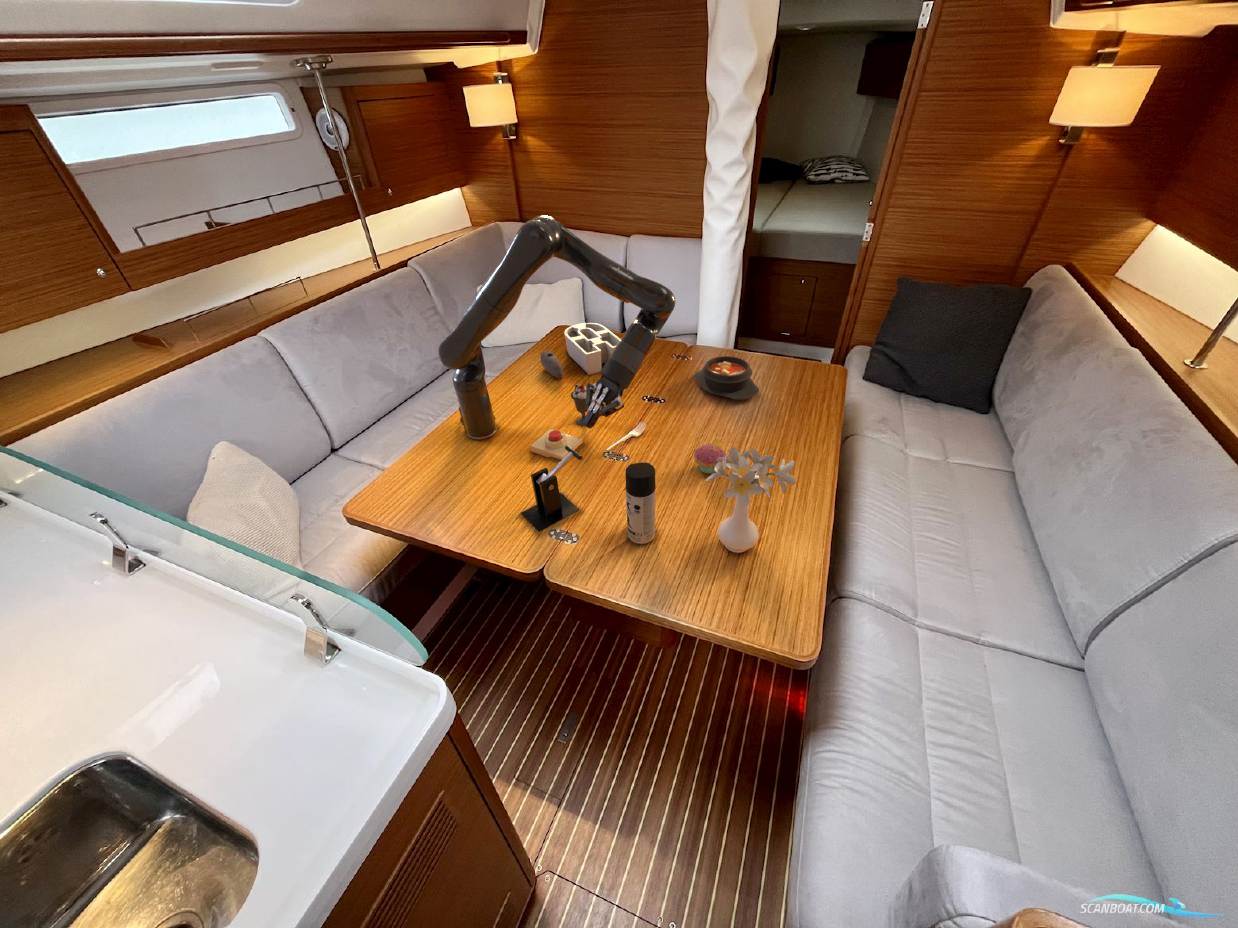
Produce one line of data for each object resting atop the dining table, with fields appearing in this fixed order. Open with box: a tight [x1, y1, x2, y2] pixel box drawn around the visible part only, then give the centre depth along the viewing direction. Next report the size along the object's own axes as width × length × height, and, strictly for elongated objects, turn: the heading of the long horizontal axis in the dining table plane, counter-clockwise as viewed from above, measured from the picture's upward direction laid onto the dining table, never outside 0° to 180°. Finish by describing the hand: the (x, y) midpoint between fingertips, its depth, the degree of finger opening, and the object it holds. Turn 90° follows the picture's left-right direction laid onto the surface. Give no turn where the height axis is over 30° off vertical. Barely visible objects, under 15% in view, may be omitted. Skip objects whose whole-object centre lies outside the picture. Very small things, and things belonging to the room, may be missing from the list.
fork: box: [606, 421, 648, 451], centre depth 150 cm, size 3×20×2 cm, turn 137°
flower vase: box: [705, 446, 797, 554], centre depth 109 cm, size 13×18×25 cm
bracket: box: [520, 467, 580, 533], centre depth 123 cm, size 12×9×13 cm
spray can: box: [625, 461, 657, 545], centre depth 114 cm, size 7×7×20 cm
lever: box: [536, 445, 583, 484], centre depth 121 cm, size 12×6×2 cm, turn 129°
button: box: [549, 429, 562, 442], centre depth 147 cm, size 4×4×2 cm
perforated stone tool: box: [540, 350, 564, 380], centre depth 186 cm, size 15×5×7 cm, turn 28°
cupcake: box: [693, 434, 726, 475], centre depth 135 cm, size 9×8×12 cm
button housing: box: [529, 428, 583, 461], centre depth 149 cm, size 12×10×4 cm
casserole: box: [694, 355, 760, 401], centre depth 171 cm, size 25×19×8 cm
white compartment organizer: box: [564, 322, 622, 375], centre depth 196 cm, size 17×28×9 cm, turn 27°
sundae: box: [570, 381, 589, 427], centre depth 156 cm, size 7×7×15 cm
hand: (586, 426), depth 121 cm, fingers closed
